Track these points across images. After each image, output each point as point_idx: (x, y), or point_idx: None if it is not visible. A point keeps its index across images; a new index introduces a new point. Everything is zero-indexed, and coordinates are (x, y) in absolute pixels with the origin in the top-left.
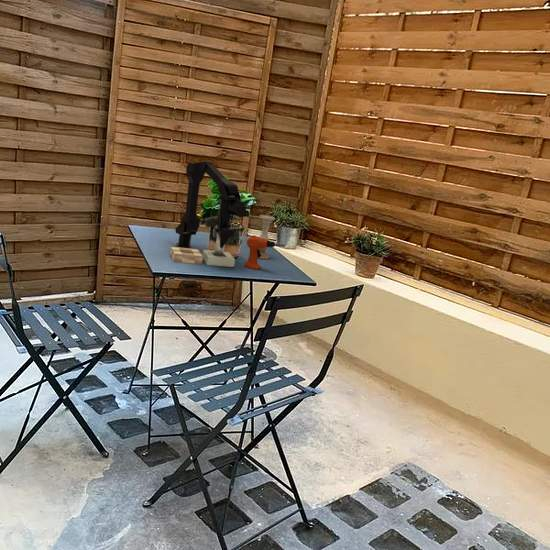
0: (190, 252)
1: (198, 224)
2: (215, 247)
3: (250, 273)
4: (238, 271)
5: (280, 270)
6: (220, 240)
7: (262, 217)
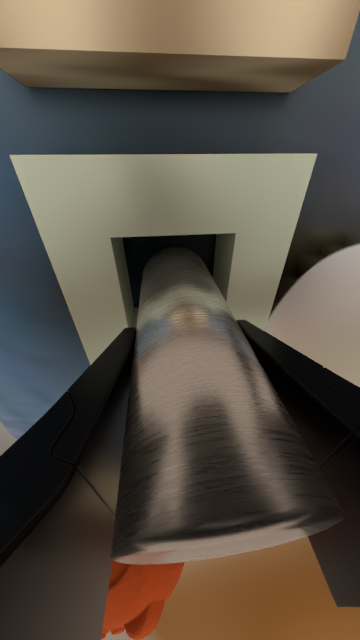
0: None
1: None
2: (180, 281)
3: (32, 388)
4: (25, 349)
5: None
6: (58, 401)
7: None
